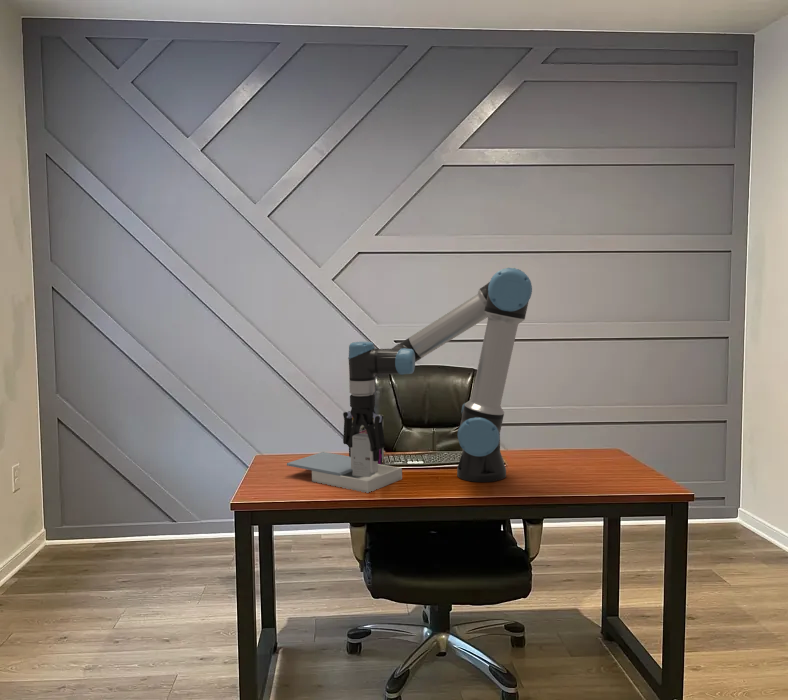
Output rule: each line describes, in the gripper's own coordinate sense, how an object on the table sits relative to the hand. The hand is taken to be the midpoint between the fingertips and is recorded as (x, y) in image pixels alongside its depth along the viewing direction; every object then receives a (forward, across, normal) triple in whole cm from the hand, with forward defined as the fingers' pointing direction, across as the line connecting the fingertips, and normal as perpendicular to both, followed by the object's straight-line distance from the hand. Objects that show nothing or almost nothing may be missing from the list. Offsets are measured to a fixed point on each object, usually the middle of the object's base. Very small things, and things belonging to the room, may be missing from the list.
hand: (364, 469), depth 209 cm
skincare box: (+2, 0, 0) cm, 2 cm away
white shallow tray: (+5, +6, -3) cm, 8 cm away
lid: (+1, +16, -3) cm, 17 cm away
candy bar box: (+5, +16, -20) cm, 26 cm away
